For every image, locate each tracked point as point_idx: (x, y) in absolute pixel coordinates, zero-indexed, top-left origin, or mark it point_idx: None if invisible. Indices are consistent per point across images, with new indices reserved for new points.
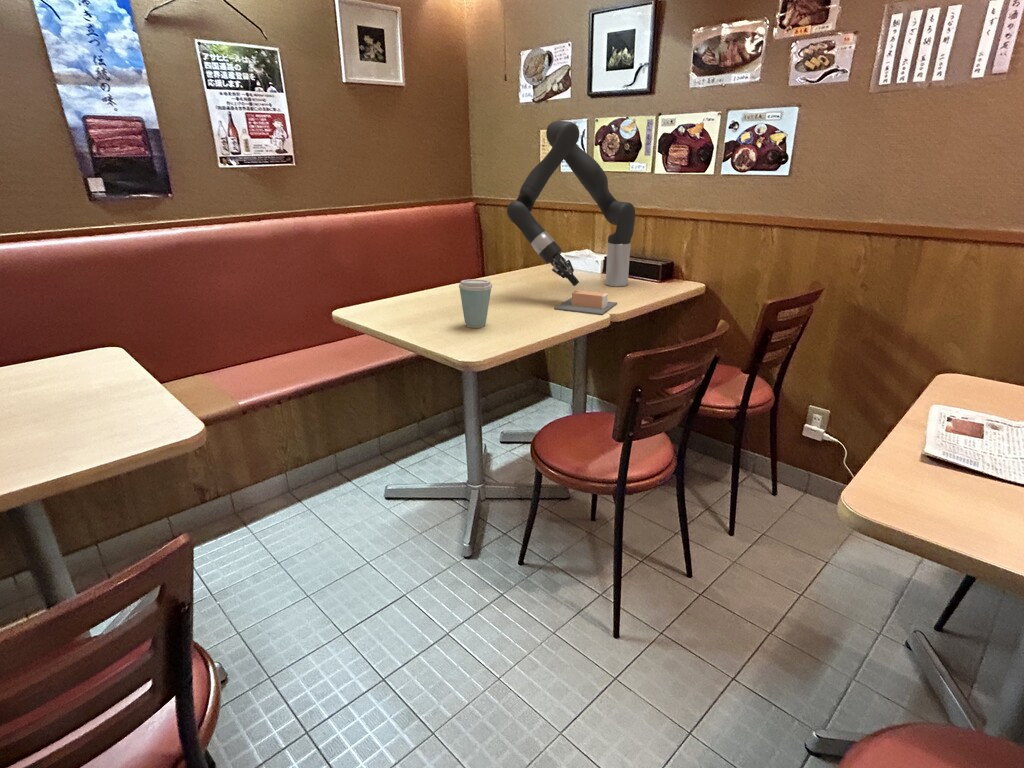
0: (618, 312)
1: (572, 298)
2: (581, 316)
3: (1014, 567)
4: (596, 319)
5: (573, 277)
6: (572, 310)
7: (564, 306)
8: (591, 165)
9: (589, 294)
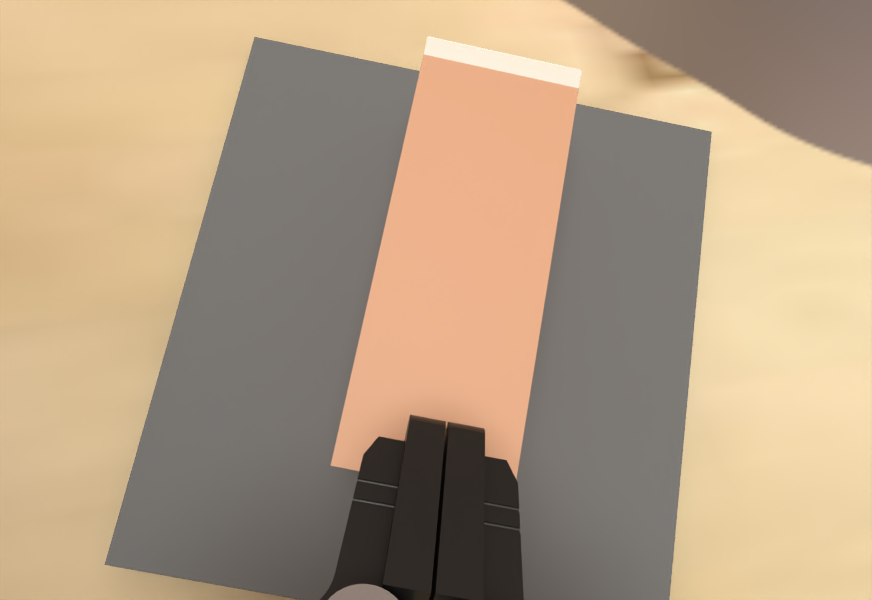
0: (559, 19)
1: None
2: (806, 314)
3: None
4: (846, 173)
5: (481, 537)
6: (681, 432)
7: (570, 553)
8: None
9: (538, 246)
